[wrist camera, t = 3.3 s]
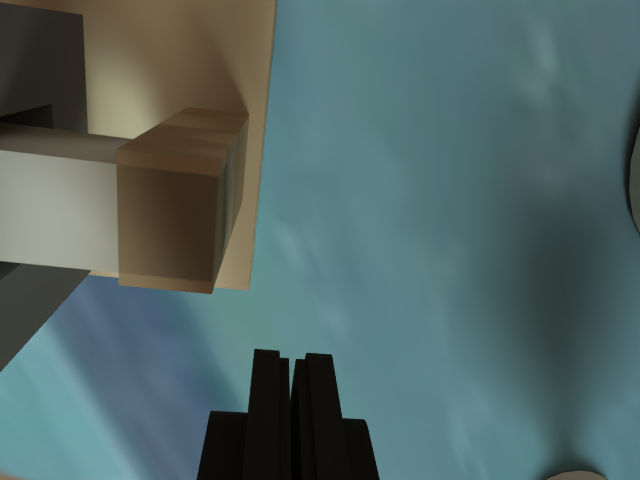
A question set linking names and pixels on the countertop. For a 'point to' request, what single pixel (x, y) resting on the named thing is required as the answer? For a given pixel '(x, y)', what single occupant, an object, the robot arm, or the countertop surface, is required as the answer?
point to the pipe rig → (149, 148)
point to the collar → (47, 112)
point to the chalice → (577, 476)
